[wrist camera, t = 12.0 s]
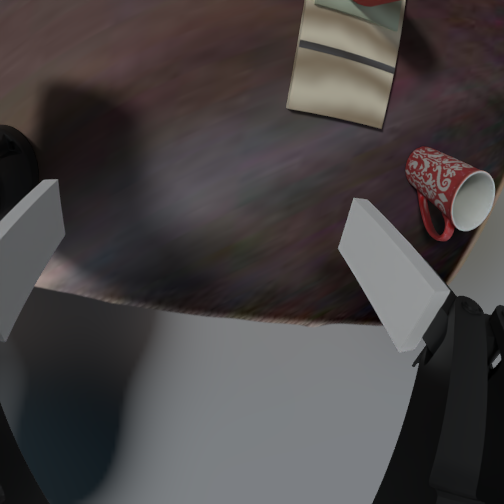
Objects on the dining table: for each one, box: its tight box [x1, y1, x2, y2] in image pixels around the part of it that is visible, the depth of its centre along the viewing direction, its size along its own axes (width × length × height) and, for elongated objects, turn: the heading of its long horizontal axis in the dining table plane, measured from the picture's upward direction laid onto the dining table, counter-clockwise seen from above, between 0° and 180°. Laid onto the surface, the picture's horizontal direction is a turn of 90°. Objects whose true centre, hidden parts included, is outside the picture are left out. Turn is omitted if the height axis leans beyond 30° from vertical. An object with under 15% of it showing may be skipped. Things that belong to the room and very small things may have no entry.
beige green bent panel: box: [286, 0, 406, 129], centre depth 30 cm, size 26×14×4 cm, turn 172°
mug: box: [405, 147, 495, 241], centre depth 40 cm, size 13×9×14 cm
